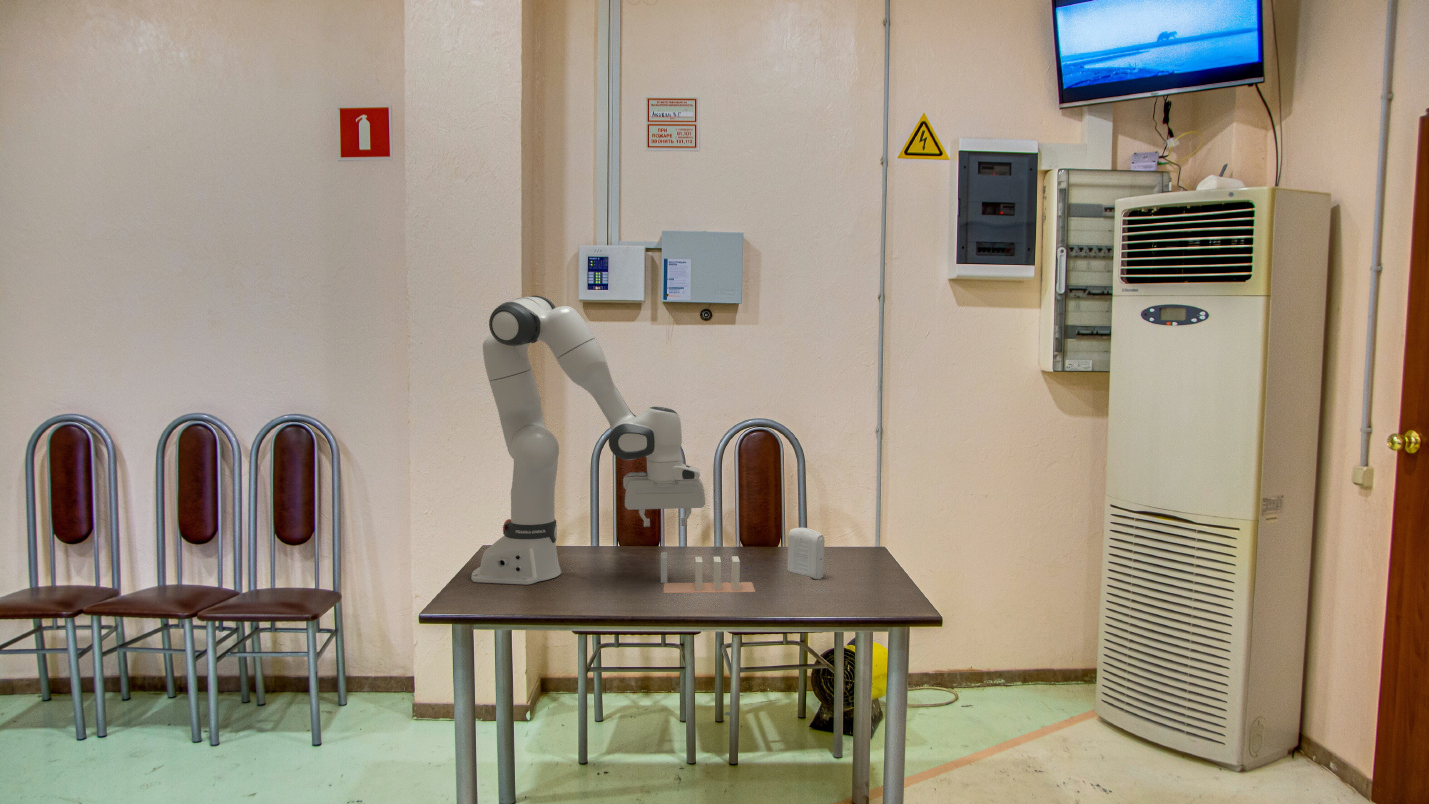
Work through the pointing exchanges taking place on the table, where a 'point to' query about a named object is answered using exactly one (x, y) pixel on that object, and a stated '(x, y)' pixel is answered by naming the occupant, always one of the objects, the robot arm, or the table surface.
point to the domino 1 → (663, 567)
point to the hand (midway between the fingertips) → (665, 525)
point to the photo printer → (806, 552)
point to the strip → (706, 587)
